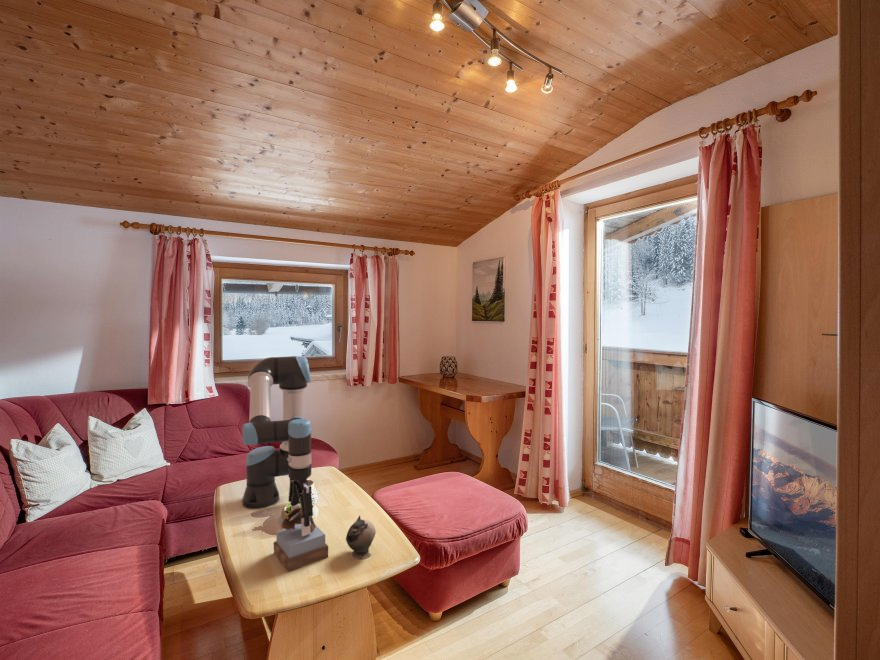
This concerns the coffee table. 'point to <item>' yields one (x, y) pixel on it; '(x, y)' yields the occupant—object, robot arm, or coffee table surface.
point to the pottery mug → (296, 520)
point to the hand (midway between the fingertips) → (300, 528)
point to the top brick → (299, 540)
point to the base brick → (300, 557)
